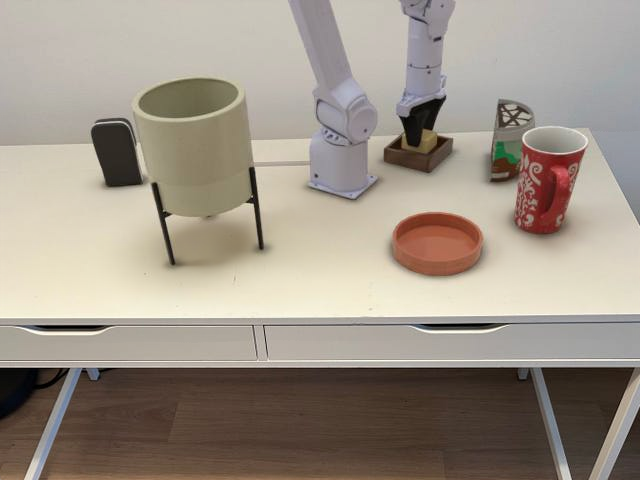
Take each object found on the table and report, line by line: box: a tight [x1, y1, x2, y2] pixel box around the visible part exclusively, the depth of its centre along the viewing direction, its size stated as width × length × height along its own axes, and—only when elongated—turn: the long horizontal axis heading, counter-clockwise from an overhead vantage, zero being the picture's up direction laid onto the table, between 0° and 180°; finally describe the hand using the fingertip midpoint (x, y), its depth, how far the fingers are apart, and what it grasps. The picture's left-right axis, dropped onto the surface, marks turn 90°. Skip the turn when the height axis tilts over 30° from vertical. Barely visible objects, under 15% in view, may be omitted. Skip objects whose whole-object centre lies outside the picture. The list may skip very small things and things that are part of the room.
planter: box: [131, 74, 265, 266], centre depth 96 cm, size 15×16×23 cm
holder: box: [382, 130, 454, 174], centre depth 119 cm, size 9×9×2 cm
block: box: [402, 129, 439, 154], centre depth 118 cm, size 5×4×2 cm
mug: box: [513, 125, 590, 235], centre depth 97 cm, size 13×9×14 cm
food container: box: [489, 98, 536, 183], centre depth 111 cm, size 12×6×10 cm, turn 168°
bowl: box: [391, 211, 484, 276], centre depth 98 cm, size 13×13×2 cm
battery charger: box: [90, 117, 144, 187], centre depth 116 cm, size 7×4×11 cm, turn 92°
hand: (419, 140), depth 118 cm, fingers closed on block, 4 cm apart
